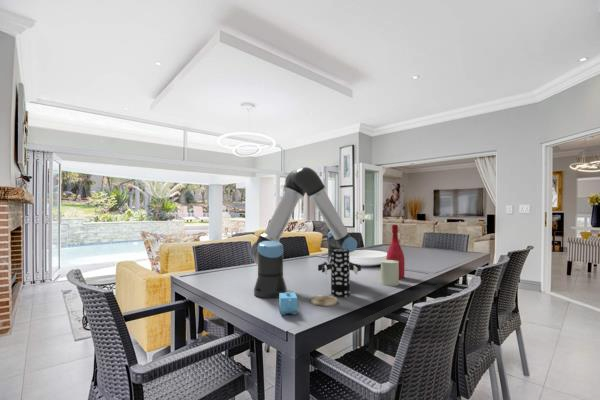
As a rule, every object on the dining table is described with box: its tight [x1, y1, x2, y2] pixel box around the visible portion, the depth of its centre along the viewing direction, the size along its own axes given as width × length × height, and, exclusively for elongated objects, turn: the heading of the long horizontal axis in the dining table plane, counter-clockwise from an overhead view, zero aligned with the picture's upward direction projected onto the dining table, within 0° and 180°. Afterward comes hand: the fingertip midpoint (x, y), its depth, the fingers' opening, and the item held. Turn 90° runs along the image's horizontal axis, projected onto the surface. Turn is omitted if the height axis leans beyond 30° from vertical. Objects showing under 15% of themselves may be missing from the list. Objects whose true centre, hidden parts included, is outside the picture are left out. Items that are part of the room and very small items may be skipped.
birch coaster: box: [310, 294, 338, 307], centre depth 125 cm, size 11×11×1 cm
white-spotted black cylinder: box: [330, 249, 351, 298], centre depth 136 cm, size 8×8×20 cm
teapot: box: [278, 291, 298, 316], centre depth 111 cm, size 12×6×8 cm, turn 8°
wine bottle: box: [385, 224, 406, 280], centre depth 170 cm, size 10×10×30 cm
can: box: [380, 259, 400, 287], centre depth 156 cm, size 9×9×12 cm
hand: (341, 271), depth 134 cm, fingers open, 13 cm apart
